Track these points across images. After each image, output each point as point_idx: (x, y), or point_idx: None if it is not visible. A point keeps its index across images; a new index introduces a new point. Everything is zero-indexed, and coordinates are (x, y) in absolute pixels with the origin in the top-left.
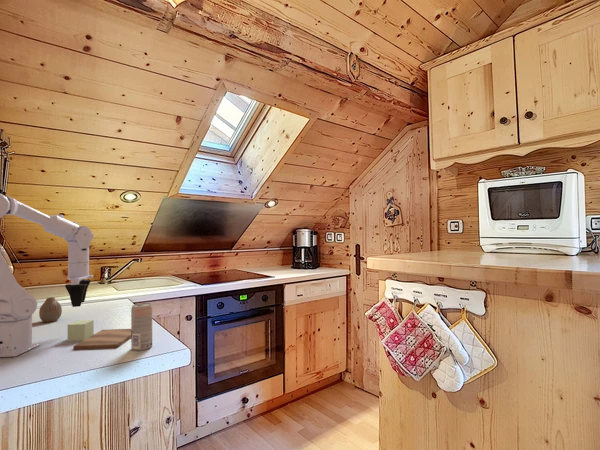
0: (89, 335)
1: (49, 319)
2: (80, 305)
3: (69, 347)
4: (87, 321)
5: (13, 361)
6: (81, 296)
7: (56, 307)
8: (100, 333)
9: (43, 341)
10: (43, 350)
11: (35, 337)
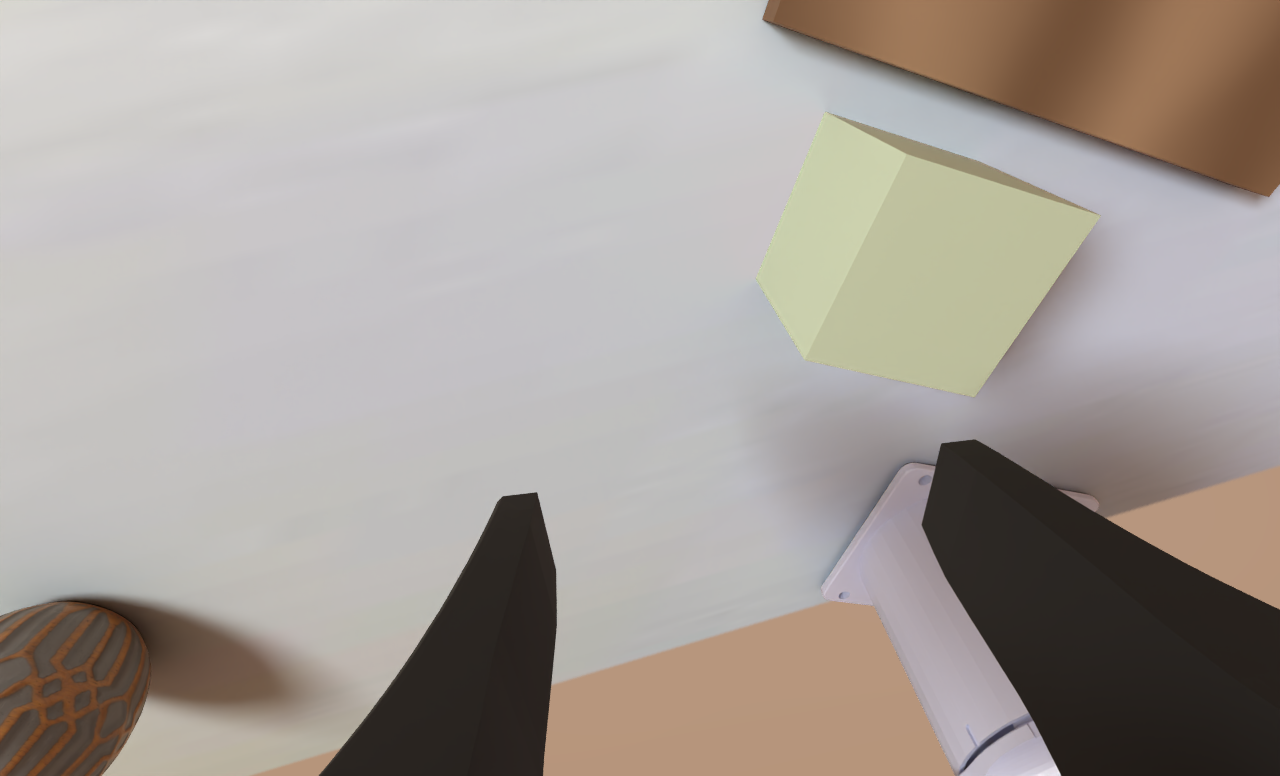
0: (911, 141)
1: (137, 646)
2: (982, 444)
3: (1132, 239)
4: (957, 218)
5: (1177, 473)
6: (1171, 561)
7: (5, 727)
8: (967, 7)
9: (790, 473)
10: (1059, 398)
11: (636, 552)
